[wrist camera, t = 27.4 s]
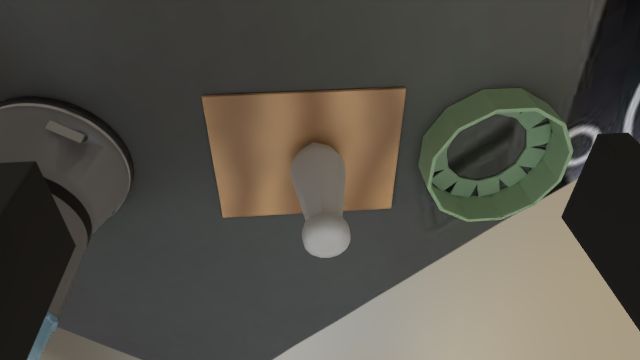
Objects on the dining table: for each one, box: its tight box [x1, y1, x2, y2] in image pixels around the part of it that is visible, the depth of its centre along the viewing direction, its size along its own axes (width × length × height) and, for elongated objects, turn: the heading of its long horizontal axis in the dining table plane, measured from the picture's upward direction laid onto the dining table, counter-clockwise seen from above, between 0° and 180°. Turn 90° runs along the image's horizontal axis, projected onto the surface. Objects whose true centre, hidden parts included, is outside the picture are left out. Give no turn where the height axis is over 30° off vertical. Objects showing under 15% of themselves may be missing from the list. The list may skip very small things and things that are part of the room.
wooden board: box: [201, 87, 406, 218], centre depth 51 cm, size 20×16×1 cm
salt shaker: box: [290, 142, 351, 258], centre depth 46 cm, size 6×6×13 cm
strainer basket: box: [418, 88, 573, 222], centre depth 51 cm, size 15×15×4 cm
